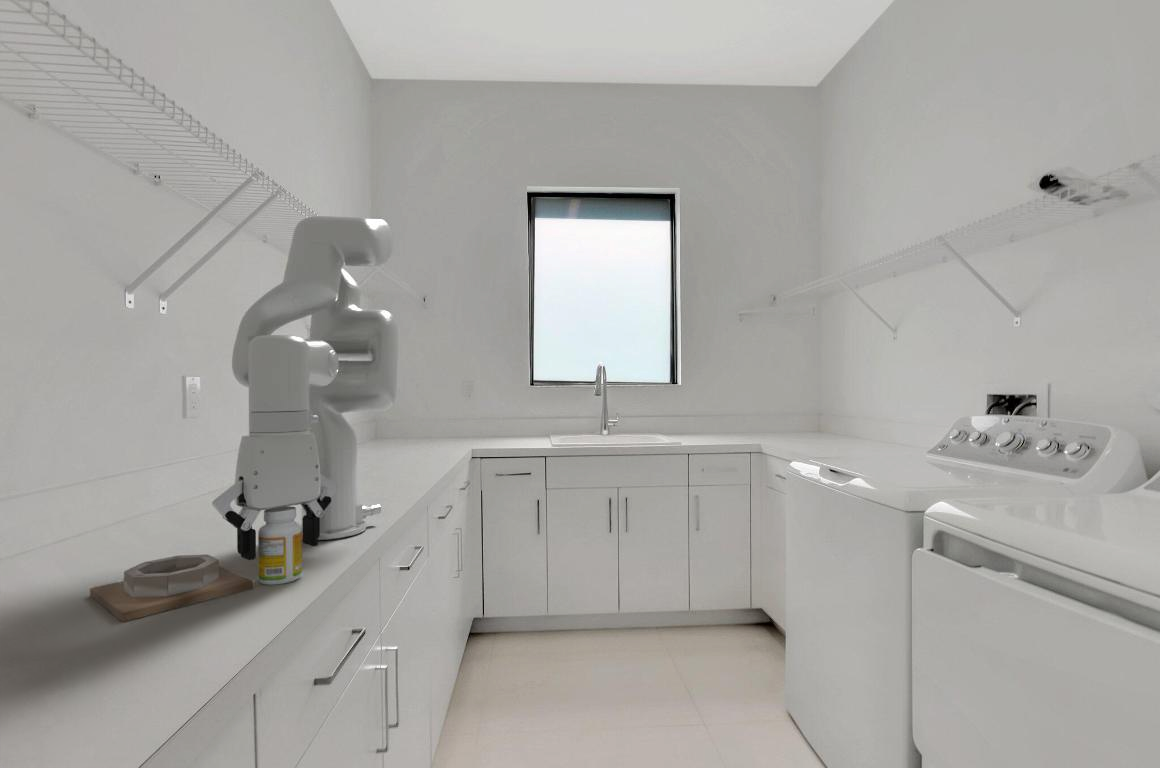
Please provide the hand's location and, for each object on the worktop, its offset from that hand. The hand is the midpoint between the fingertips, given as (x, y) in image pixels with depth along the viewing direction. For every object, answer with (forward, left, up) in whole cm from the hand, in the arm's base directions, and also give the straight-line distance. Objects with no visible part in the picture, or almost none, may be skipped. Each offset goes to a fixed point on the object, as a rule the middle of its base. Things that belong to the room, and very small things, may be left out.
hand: (280, 550), depth 81 cm
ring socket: (+11, -6, -4) cm, 13 cm away
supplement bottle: (0, 0, -4) cm, 4 cm away
